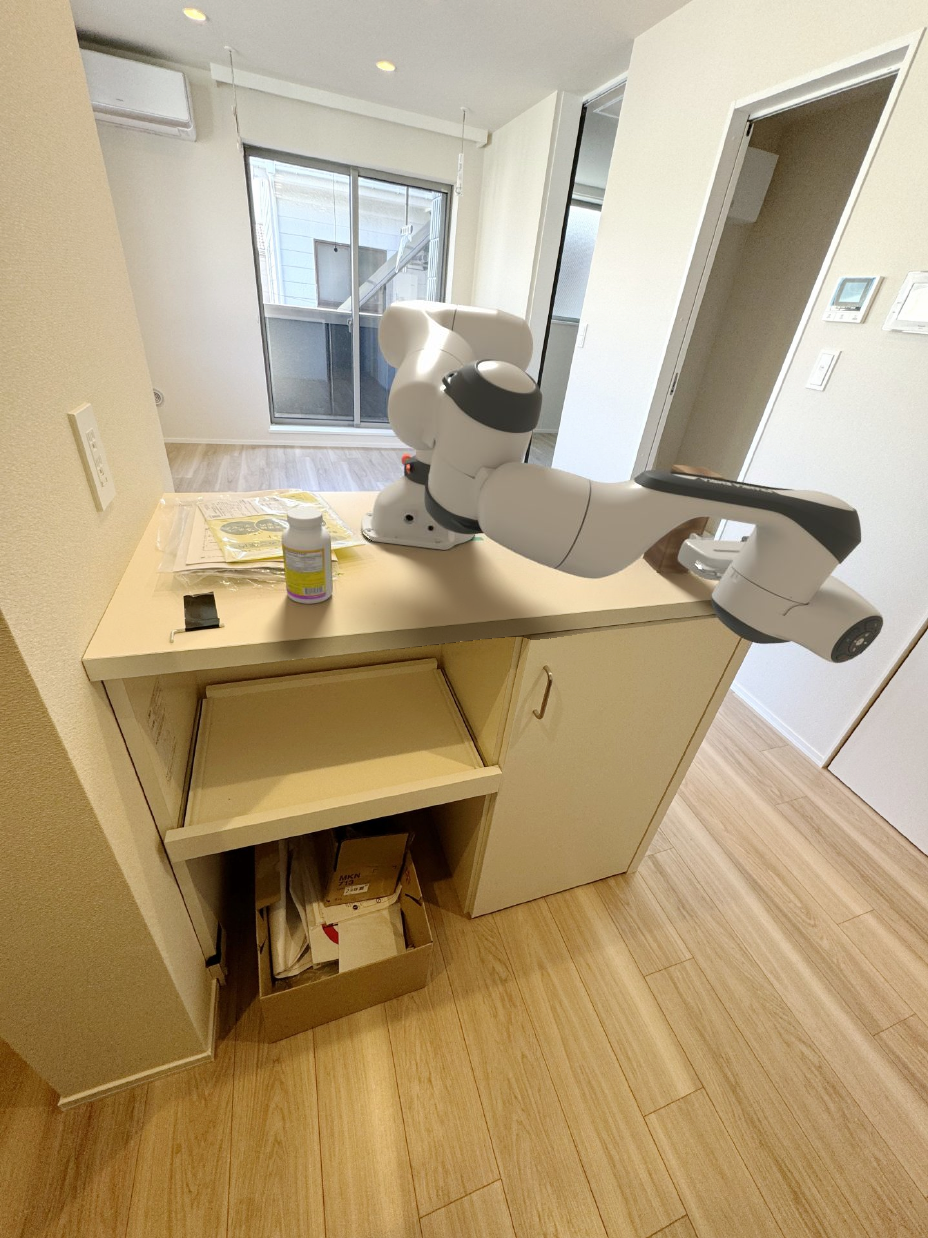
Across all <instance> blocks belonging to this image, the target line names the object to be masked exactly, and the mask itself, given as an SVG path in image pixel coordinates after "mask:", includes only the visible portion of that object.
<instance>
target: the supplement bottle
mask: <svg viewBox="0 0 928 1238" xmlns="http://www.w3.org/2000/svg"><path fill="white" fill-rule="evenodd" d="M323 517H324V516H323V512H322V510H320V509H318V508H317V507H316V508H315V507H309V506H298V507H293V508H291V509H289V510H287V511H286V522H287V524H288V526H287V527H286V528H285V529H284V530H283V532H282V534H281V536H280V537H281V547H282V548H281V549H282V557H283V559H282V560H283V569H284V577H285V578H284V579H285V587H286V589H285V590H286V595H287V597H288V598H290V600H292V601H294V602H296V603H300V604H305V605H306V604H307V605H310V604H319V603H321V602H324V601H326V600H328V599H329V598H330V597H331V596H332V595H333V591H334V587H333V586H334V585H333V582H334V581H333V562H332V561H333V560H332V538H331V533H330V531H329V530H328V528H325V527H324V526H322V525H323V522H324V518H323Z"/></svg>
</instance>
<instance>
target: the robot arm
mask: <svg viewBox="0 0 928 1238" xmlns="http://www.w3.org/2000/svg"><path fill="white" fill-rule="evenodd" d="M531 331H532V330H531V329H530V326H529V325H528V323H527V321H526V319H524V318H523V317H520V316H517V315H516V314H512V313H510V312H507V311H503V310H501V309H499V308H497V309H496V308H489V307H481V306H473V305H467V304H466V305H465V304H458V303H457V304H456V303H450V302H449V303H448V302H442V301H440V302H439V301H431V300H425V299H412V300H401V301H394V302H391V303H390V304H389V305H388V307H386V308H385V310H384V311H383V313H382V315H381V318H380V320H379V323H378V331H377V339H378V340H377V341H378V345H379V349H380V352H381V354H382V356H383V358H384V360H385V361H386V363H387V364H388V365H389V366H390V367H393V368H394V369H397V371H396V374H395V376H394V377H393V380H392V383H391V387H390V391H389V396H388V402H387V418H388V422H389V425H390V428H391V429H392V431H393V433H394V435H395V436H396V437H397V439H399V440H400V441H401V442H402V443H403V444H404V445H406V446H408V447H409V448H412V449H415V451H416V452H415V455H413V456H411V454H410V453H408V452H407V453H403V454H402V456H401V463H402V465H403V473H404V474H403V476H402V477H400V478H398V479H397V480H396V481H394V482H392V483H390V484H389V485H387V486H386V487H384V488H383V489H381V490H380V492H378V494H377V495H376V498H375V500H374V504H373V508H372V510H370V511H369V512H366V513H365V514H364V515H363V517H362V520H361V525H360V527H361V528H360V530H361V533H362V532H364V533H365V534H367V536H369V538H370V539H371V540H372V541H371V540H370V541H371V542H379V543H386V544H394V545H403V546H408V547H409V546H410V547H416V548H417V547H418V548H426V549H434V550H441V551H444V550H445V551H447V550H449V549H452V548H453V547H454V546H456V545H459V544H463V543H466V542H468V541H470V540H471V539H473V538H474V537H475V535H477V534H478V535H479V534H484V535H485V536H486V537H487V538H489V539H490V540H491V541H493V542H495V543H496V544H498V545H500V546H502V547H504V548H505V549H507V550H508V551H511V552H512V553H515V554H517V555H519V556H521V557H523V558H525V559H528V560H529V561H531V562H534V563H536V564H539V565H542V566H544V567H548V568H551V569H553V570H557V571H559V572H562V573H565V574H567V575H571V576H575V577H579V578H584V579H592V580H593V579H602V578H606V577H609V576H612V575H615V574H617V573H619V572H621V571H623V570H624V569H626V568H628V567H630V566H631V565H633V564H634V563H635V562H637V561H638V560H639V559H640V558H642V557H643V555H644V553H645V552H646V551H647V550H648V549H649V548H650V547H651V546H653V545H654V544H655V543H656V542H657V541H658V540H659V539H661V538H662V537H663V536H665V535H666V534H667V533H668V532H670V531H671V530H673V529H674V528H676V527H677V526H679V525H680V524H682V523H684V522H686V521H688V520H690V519H693V518H697V517H709V518H715V519H719V520H725V521H733V522H738V523H742V524H743V523H744V524H750V525H754V529H753V530H752V532H751V533H750V535H748V536H747V535H745V536H744V535H743V536H741V540H740V541H739V540H738V541H736V540H735V541H734V540H718V539H717V540H716V539H705V538H706V537H705V536H704V535H701V534H695V533H692V534H691V535H690V537H689V539H686V540H685V541H684V542H683V544H682V546H681V548H680V551H679V554H678V561H679V562H680V563H681V564H682V565H683V566H685V567H686V568H687V569H689V571H690V572H691V573H693V574H695V575H696V576H697V577H699V578H701V579H704V580H707V581H708V580H709V581H718V582H717V584H716V586H714V589H713V591H712V593H711V594H710V602H711V606H712V609H713V611H714V613H715V615H716V617H717V619H718V621H720V622H721V623H722V624H723V625H724V626H725V627H726V628H728V630H730V631H731V632H733V633H734V634H736V635H737V636H738V637H740V638H742V639H744V640H746V641H748V642H752V643H756V644H759V645H760V644H761V645H763V644H764V645H766V644H767V645H768V644H770V645H771V644H784V643H790V642H792V643H795V644H797V645H799V646H800V647H801V646H802V647H803V648H805V649H806V650H808V651H810V652H812V654H814V655H816V656H818V657H820V658H821V659H824V661H827V662H830V663H833V664H841V663H845V662H848V661H850V660H853V659H854V658H857V657H858V656H859V655H862V654H863V653H864V652H865V651H866V649H868V648H869V647H870V646H871V645H872V644H873V642H875V640H876V639H877V637H878V636H879V635H880V634H881V631H882V628H883V626H884V617H883V616H882V614H881V613H880V611H879V610H878V609H877V608H876V607H875V606H874V605H873V604H871V603H870V602H869V600H867V599H866V598H865V597H864V596H863V595H861V594H860V593H859V592H857V590H854V588H852V587H850V586H849V585H847V584H846V583H844V582H843V581H841V579H839V578H837V577H835V576H833V575H831V574H833V572H834V571H835V569H836V568H837V566H838V565H841V564H843V562H844V561H845V560H846V559H847V558H848V557H849V556H850V555H851V553H852V552H853V551H854V550H855V549H856V548H857V547H858V545H859V544H860V543H861V542H862V528H861V521H860V518H859V514H858V511H857V509H856V508H854V507H853V506H851V505H850V504H849V503H847V501H845V500H842V499H841V498H839V497H837V496H834V495H832V494H828V493H825V492H823V491H821V492H820V491H815V490H806V489H792V488H781V487H773V486H766V485H759V484H755V483H749V482H745V481H736V480H731V479H726V478H724V479H721V478H715V477H709V476H703V475H697V474H690V473H683V472H675V471H671V470H665V469H664V470H663V469H651V470H644V471H642V472H641V473H639V474H638V475H637V476H636V477H634V478H633V479H630V480H629V479H628V480H626V481H620V482H618V481H617V482H601V481H596V480H593V479H589V478H587V477H583V476H580V475H578V474H575V473H571V472H569V471H565V470H562V469H558V468H553V467H549V466H546V465H540V464H534V463H529V462H528V463H527V462H524V460H525V459H524V458H525V457H526V456H525V455H526V453H527V450H528V448H529V444H530V440H531V438H532V434H533V430H535V429H536V428H537V426H538V424H539V421H540V420H539V419H540V415H541V411H542V404H543V393H542V391H541V389H540V387H539V385H538V383H537V382H536V380H535V379H534V378H533V377H532V376H531V375H530V374H529V373H527V372H526V371H527V370H528V367H529V366H530V364H531V361H532V357H533V351H534V342H533V335H532V332H531Z"/></svg>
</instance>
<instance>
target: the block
mask: <svg viewBox="0 0 928 1238" xmlns="http://www.w3.org/2000/svg"><path fill="white" fill-rule="evenodd" d="M670 471H675V472H683V473H690V474H697V475H703V476H709V477H715V478H721V479H725V477H724V476H722V475H720V474H719V473H717V472H714V471H712V470H710V469H709V468H708V467H705V466H698V465H697V466H695V465H694V466H693V465H681V464H672V465H671V469H670ZM709 519H710V517H697V518H693V519H690V520H688V521H686V522H684V523H682V524H680V525H679V526H677V527H676V528H674V529H673V530H671V531H670V532H668V533H667V534H666V535H665V536H663V537H662V538H661V539H659V540H658V541H657V542H656V543H655V544H654V545H653V546H651V547H650V548H649V549H648V550H647V551H646V552H645V553H644V554H643V555H642V559H643V560H644V561H645V562H646V563H648V565H649V566H650V567H652V569H653V571H655V572H656V573H662V574H664V573H666V574H689V571H690V570H689V569H687V568H686V567H685V566H683V565H682V564H681V563H680V562H679V561H678V554H679V551H680V548H681V546H682V544H683V542H684V541H685V540H686V539H689V537H690V535H691V534H692V533H695V534H701V535H702V536H704V532H705V530H706V527H707V524H708V522H709Z"/></svg>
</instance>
